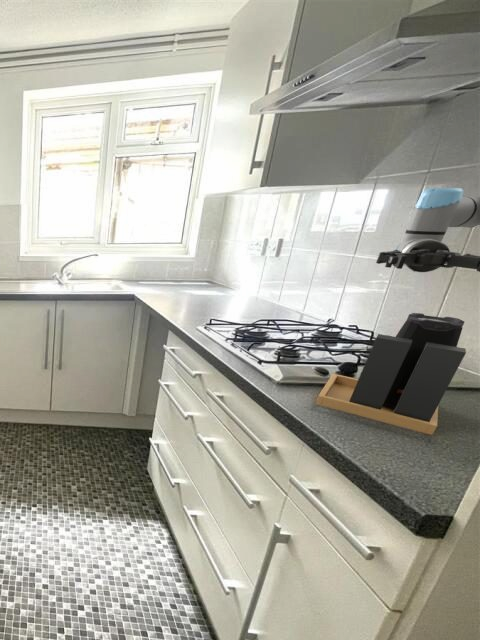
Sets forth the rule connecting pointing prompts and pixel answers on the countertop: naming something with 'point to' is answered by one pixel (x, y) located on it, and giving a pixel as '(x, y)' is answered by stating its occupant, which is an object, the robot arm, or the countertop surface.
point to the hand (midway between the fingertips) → (445, 265)
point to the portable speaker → (422, 345)
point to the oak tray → (339, 396)
